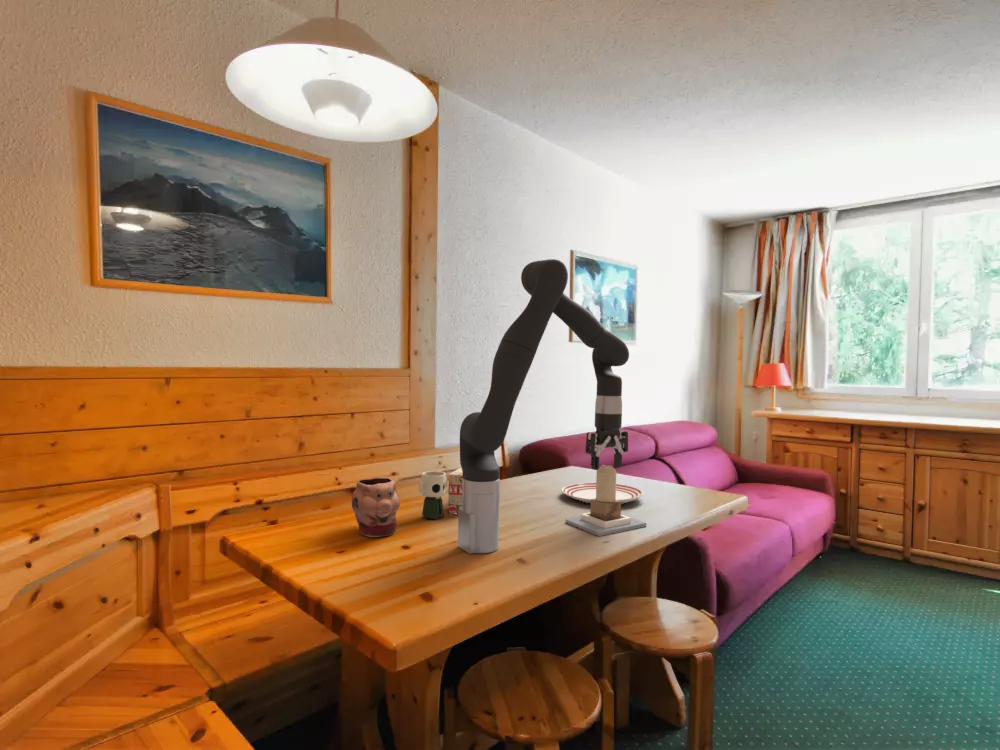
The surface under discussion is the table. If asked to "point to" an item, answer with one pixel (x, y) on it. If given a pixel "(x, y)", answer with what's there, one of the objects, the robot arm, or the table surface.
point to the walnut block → (605, 510)
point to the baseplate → (604, 524)
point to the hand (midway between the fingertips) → (606, 468)
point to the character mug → (433, 493)
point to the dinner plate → (588, 492)
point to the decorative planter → (376, 506)
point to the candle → (606, 484)
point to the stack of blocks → (455, 491)
